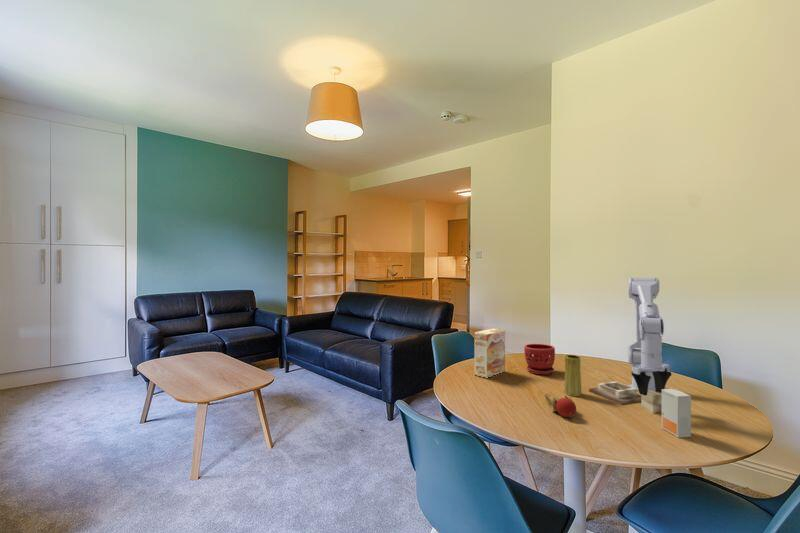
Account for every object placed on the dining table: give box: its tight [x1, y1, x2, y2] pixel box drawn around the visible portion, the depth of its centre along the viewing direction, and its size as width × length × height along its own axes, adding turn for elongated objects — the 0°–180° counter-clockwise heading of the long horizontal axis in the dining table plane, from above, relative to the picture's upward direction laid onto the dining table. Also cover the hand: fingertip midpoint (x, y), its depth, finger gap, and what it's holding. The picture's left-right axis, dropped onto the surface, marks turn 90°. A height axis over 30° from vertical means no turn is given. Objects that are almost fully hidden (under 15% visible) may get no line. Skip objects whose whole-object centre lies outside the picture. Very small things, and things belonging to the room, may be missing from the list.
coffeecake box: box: [473, 328, 506, 379], centre depth 162 cm, size 15×7×20 cm, turn 132°
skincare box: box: [660, 388, 692, 439], centre depth 105 cm, size 6×4×12 cm
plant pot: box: [524, 343, 556, 376], centre depth 165 cm, size 13×13×12 cm
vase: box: [563, 354, 582, 397], centre depth 137 cm, size 6×6×14 cm
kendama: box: [544, 390, 577, 419], centre depth 123 cm, size 8×6×18 cm
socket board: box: [588, 380, 641, 405], centre depth 135 cm, size 12×14×4 cm
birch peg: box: [640, 390, 662, 414], centre depth 121 cm, size 4×4×6 cm
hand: (651, 393), depth 121 cm, fingers open, 7 cm apart
